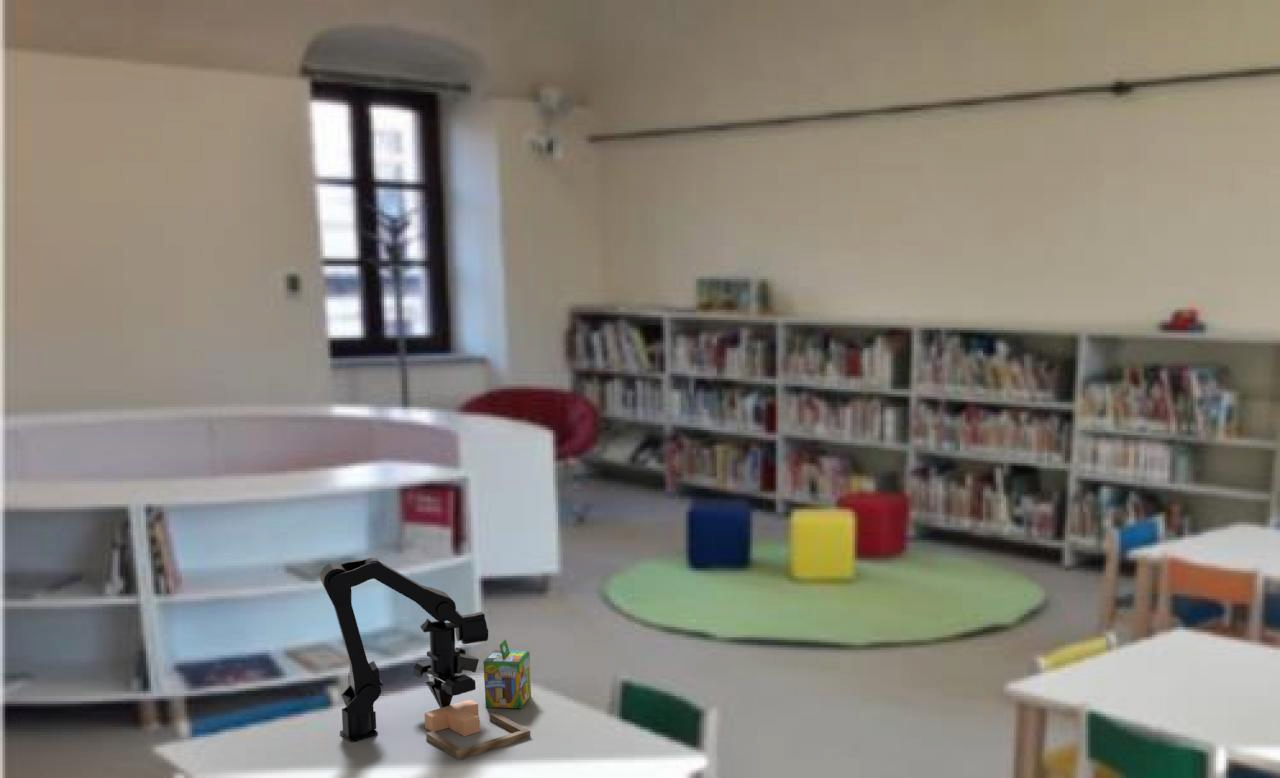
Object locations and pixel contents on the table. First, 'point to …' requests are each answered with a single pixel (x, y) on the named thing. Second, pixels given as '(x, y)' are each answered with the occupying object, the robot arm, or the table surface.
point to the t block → (455, 718)
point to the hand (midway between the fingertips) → (445, 712)
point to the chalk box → (507, 678)
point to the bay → (460, 754)
